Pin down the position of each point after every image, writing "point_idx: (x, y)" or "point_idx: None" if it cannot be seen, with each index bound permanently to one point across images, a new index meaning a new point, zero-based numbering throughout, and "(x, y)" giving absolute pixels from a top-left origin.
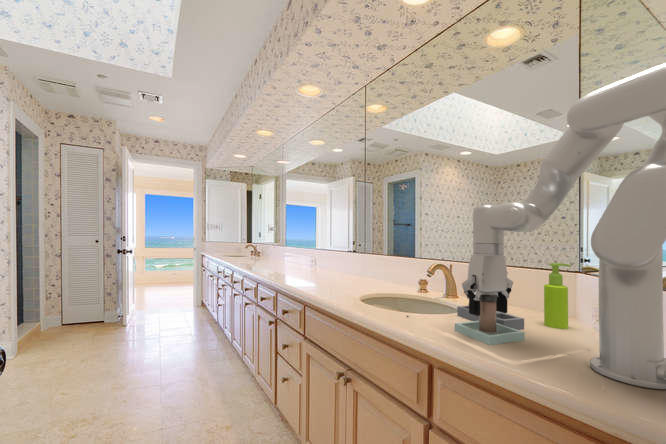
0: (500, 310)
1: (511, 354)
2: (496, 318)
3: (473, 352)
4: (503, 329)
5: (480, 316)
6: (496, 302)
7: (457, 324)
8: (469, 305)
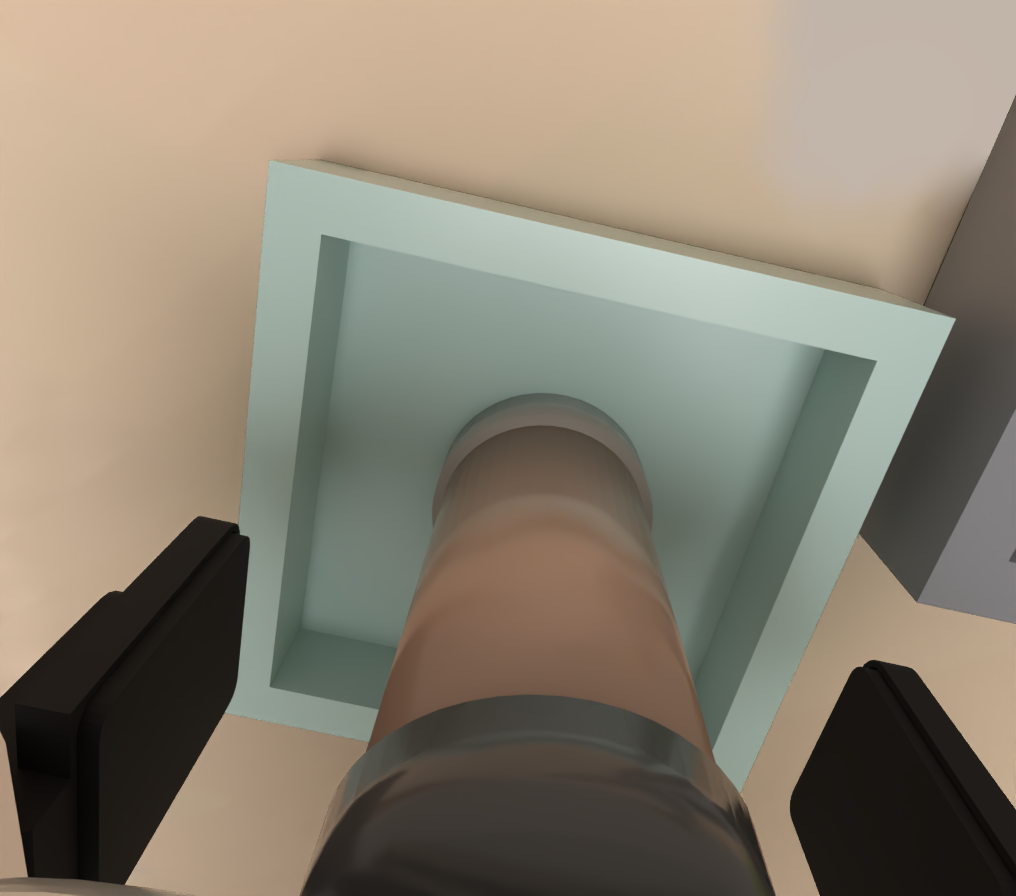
0: (825, 754)
1: (332, 763)
2: (976, 484)
3: (62, 600)
4: (759, 593)
5: (423, 571)
6: (926, 796)
7: (265, 227)
8: (56, 646)
